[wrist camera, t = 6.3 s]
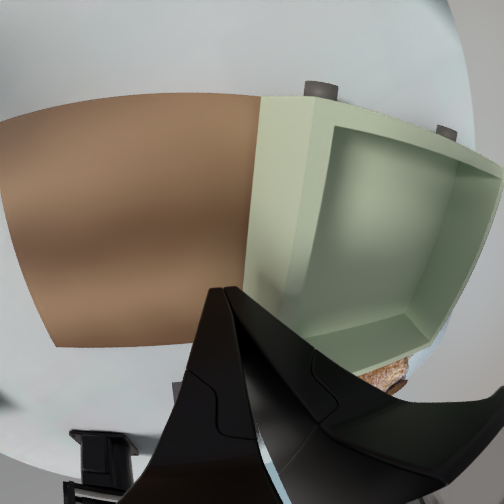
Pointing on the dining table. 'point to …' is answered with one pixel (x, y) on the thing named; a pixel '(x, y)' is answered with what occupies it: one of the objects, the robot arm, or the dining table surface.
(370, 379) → the pastry
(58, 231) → the track
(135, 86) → the dining table surface
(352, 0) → the dining table surface
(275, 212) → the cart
